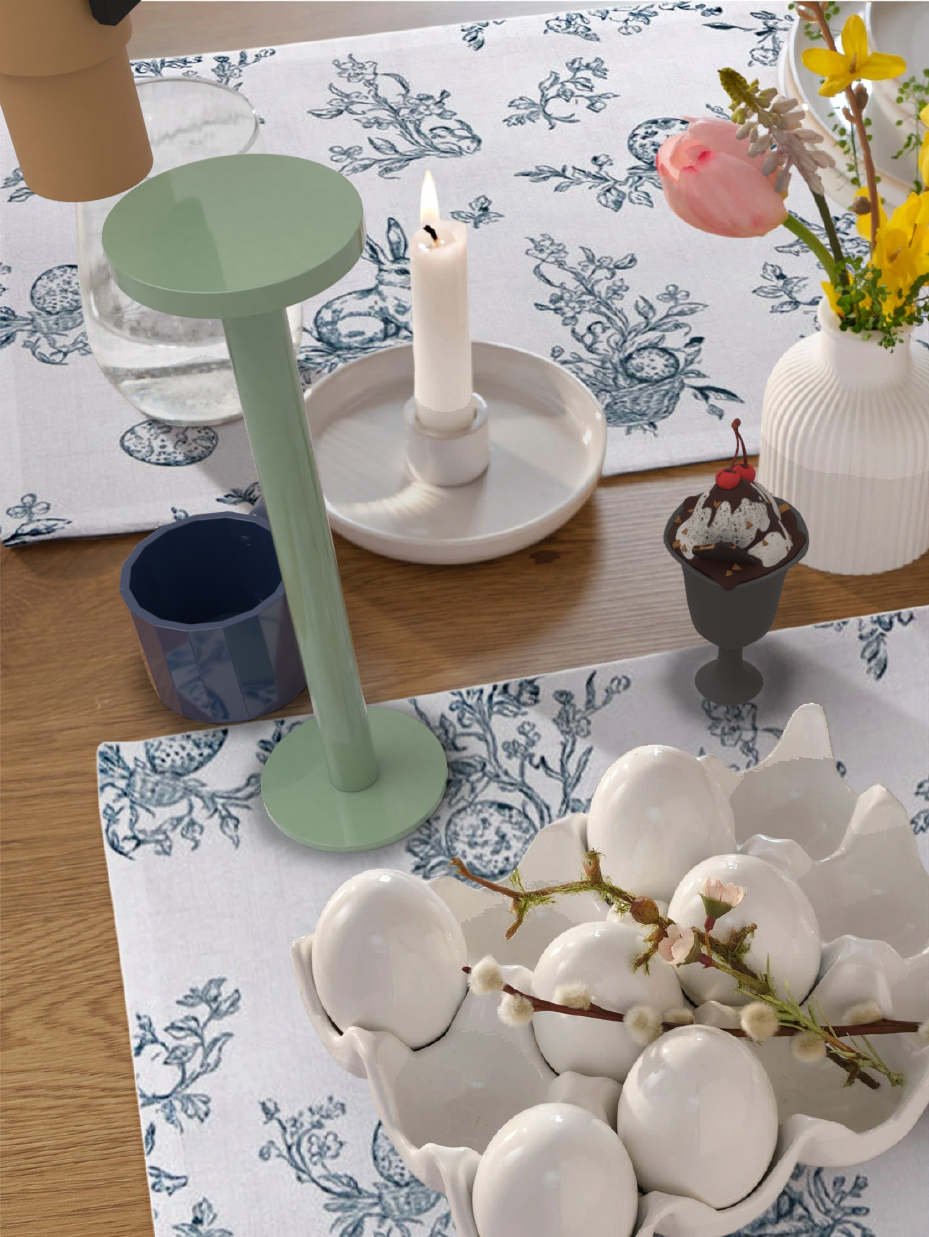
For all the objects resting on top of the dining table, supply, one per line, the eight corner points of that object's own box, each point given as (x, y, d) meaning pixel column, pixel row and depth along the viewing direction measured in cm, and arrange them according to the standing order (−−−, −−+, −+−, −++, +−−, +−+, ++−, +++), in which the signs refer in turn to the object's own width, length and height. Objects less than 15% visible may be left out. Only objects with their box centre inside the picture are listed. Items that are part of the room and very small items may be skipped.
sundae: (737, 623, 85) (750, 382, 74) (820, 697, 82) (847, 456, 70) (636, 677, 83) (633, 437, 71) (717, 755, 79) (727, 516, 68)
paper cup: (-18, 199, 62) (-123, -111, 53) (56, 123, 66) (-31, -179, 57) (124, 218, 61) (40, -96, 52) (191, 140, 64) (123, -166, 56)
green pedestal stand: (234, 839, 77) (53, 274, 54) (306, 706, 83) (169, 141, 59) (412, 876, 75) (304, 308, 52) (473, 737, 81) (399, 167, 58)
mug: (281, 744, 81) (254, 643, 75) (125, 714, 83) (88, 613, 77) (365, 590, 88) (345, 487, 83) (220, 565, 90) (192, 463, 84)
